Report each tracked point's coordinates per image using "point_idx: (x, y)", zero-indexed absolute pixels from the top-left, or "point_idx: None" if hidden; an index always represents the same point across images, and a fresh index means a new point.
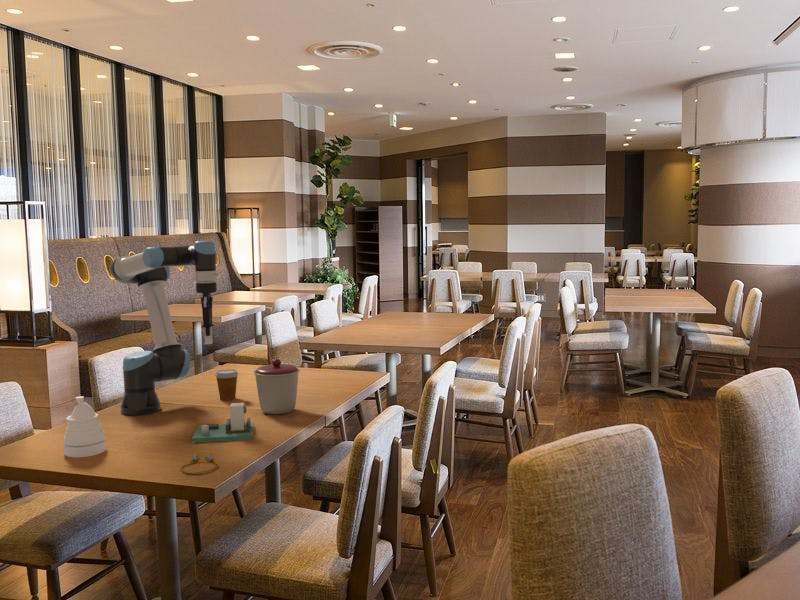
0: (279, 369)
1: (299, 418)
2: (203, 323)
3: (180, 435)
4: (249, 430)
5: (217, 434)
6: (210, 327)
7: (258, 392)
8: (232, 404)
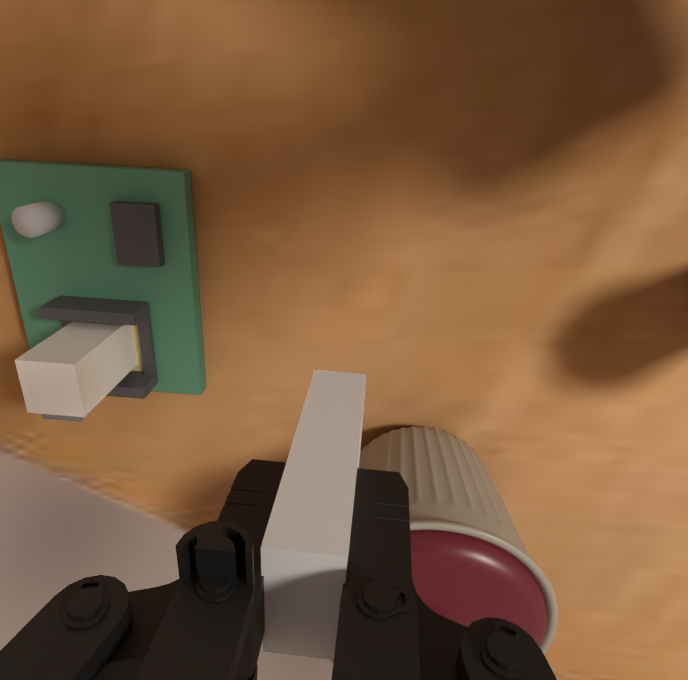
0: None
1: None
2: (12, 644)
3: (106, 92)
4: None
5: (45, 264)
6: (266, 633)
7: (398, 466)
8: (52, 369)
